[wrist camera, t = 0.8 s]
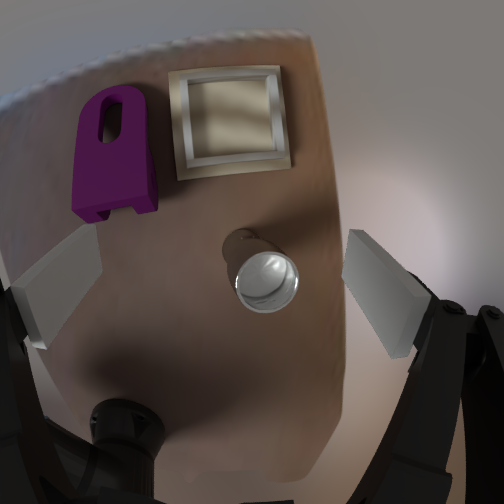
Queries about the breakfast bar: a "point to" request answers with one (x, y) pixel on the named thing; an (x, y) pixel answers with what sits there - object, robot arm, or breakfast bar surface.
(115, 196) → the mounting bracket
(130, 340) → the breakfast bar surface
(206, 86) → the cup holder
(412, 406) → the robot arm
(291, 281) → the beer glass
